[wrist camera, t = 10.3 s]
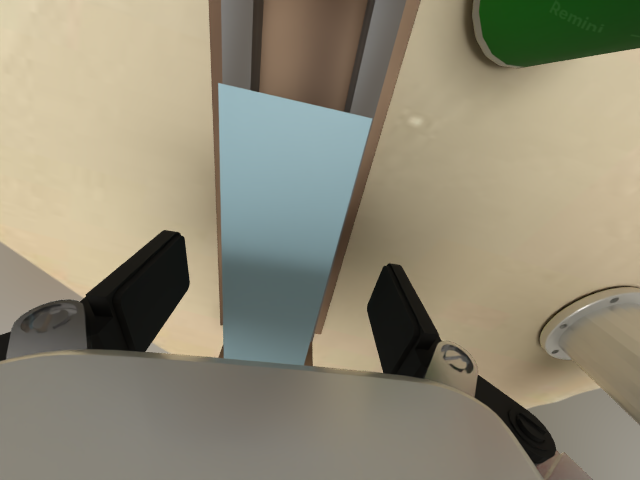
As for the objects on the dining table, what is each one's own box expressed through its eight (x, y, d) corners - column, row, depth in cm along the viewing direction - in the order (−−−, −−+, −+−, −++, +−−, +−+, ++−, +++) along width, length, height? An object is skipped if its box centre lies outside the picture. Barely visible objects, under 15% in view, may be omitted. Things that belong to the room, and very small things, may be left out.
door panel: (335, 109, 15) (372, 118, 6) (301, 276, 22) (296, 389, 13) (272, 95, 14) (218, 83, 6) (258, 271, 21) (224, 385, 13)
